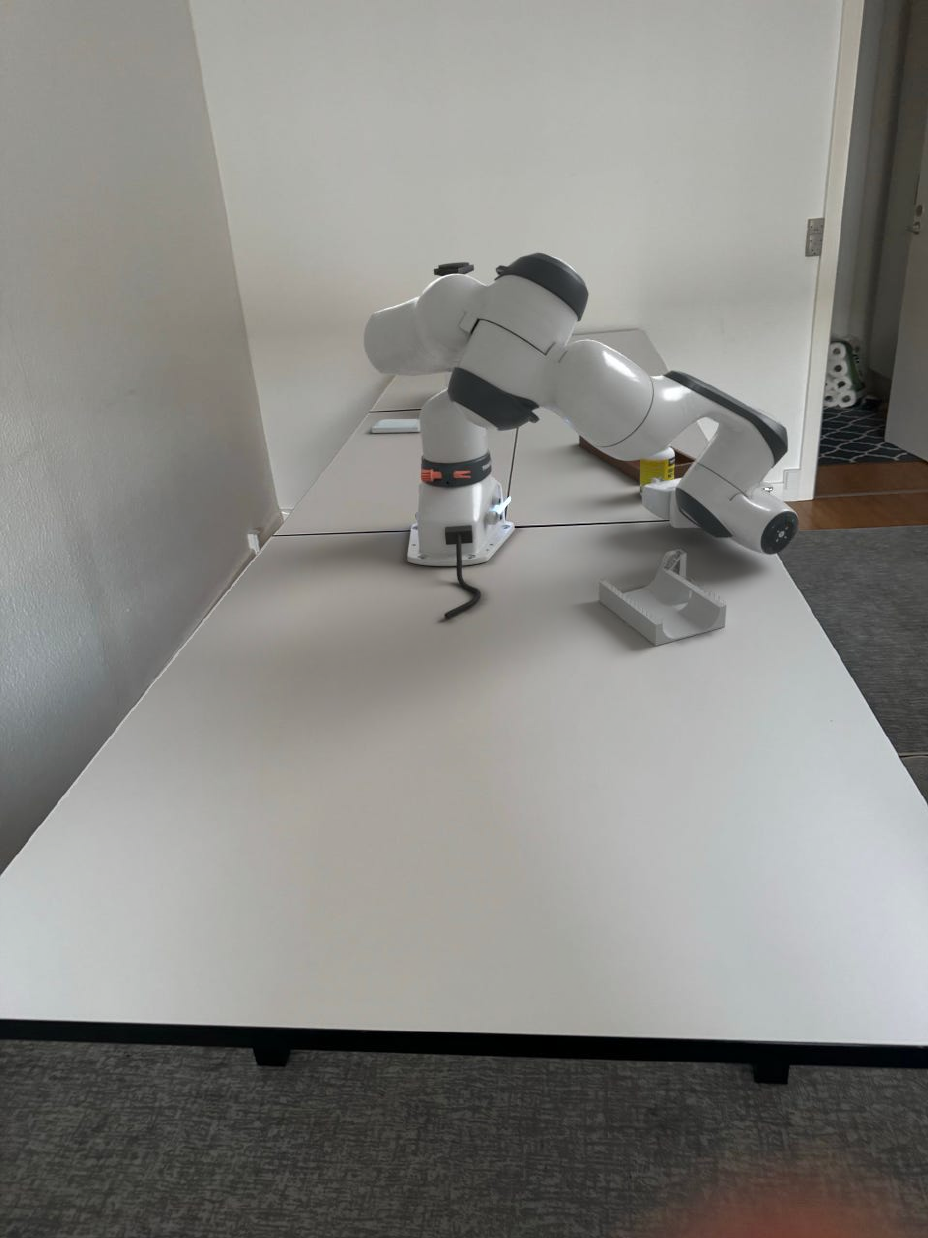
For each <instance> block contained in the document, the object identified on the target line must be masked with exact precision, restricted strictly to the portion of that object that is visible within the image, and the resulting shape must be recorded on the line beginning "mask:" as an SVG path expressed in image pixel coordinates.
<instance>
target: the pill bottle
mask: <svg viewBox="0 0 928 1238" xmlns="http://www.w3.org/2000/svg"><path fill="white" fill-rule="evenodd" d="M669 446H672V442H671V443H670V444H668V445H667V446H666V447H665V448H664V449H662V450H661V451H659V452H658V453H656V454H654V455H652V456H649V457H647V458H644V459H640V482H639V495H640V496H641V497H642V489H643V487H644V485H646V484H651V483H652V478H656V477H661V478H663V479H664V481H667V480H673V479H674V461H675V453H674V451H673V449H672V448H670V447H669Z"/></svg>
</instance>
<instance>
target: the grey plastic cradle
mask: <svg viewBox="0 0 928 1238" xmlns="http://www.w3.org/2000/svg"><path fill="white" fill-rule="evenodd" d="M687 555H688V554H687V553H686V552H685V551H684V550H682V549H674V550H670V551H667V552H666V553H665V554H664V556H663V558H662V560H661V563H660V565H659V568H658V570H657V572H656V575H655V577H654V579H653V580H652V582H650V583H649V584H648V585H647V586H644V587H641V588H638V589H633V590H629V591H626V592H622V591H621V590H619V589H618V588H617V587H615V586H614V585H612V584H611V583H610V582H608V581H607V580H606V579H605V577H602V578H601V580H599V581H598V601H599V602H600V603H601V604H602V605H604V606H605V607H606V608H608V609H609V610H610V611H611V612H612V613H614V614H615V615H616V616H617V617H618V618H620V619H621V620H622V621H624V622H625V623H626V624H627V625H628V626H630V628H632V629H633V630H635V631H636V632H637V633H639V634H640V635H641V636H643V637H644V638H645V639H646V640H647V641H649V642H650V643H651V645H653V646H655V647H657V646H661V645H665V644H668V643H673V642H676V641H679V640H682V639H687V638H691V637H693V636H698V635H701V634H705V633H708V632H711V631H712V632H713V631H715V630H718V629H722V628H725V627H726V617H727V604H725V599H724V598H723V597H721V596H719V595H718V594H716V593H714V592H713V591H711V590H710V589H708V588H707V587H705V586H704V585H701V583H699V582H698V581H695V580H694V579H692V578H691V577H689V576H688V575H687V558H688V557H687ZM671 557H672V558H671ZM670 558H671V560H670V561H669V559H670ZM668 561H669V563H668ZM689 580H690V581H689ZM698 584H699V586H700V587H699V586H697V585H698ZM690 590H691V591H690ZM690 592H691V595H690ZM712 593H713V594H712ZM721 601H722V602H721Z"/></svg>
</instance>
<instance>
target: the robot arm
mask: <svg viewBox="0 0 928 1238" xmlns="http://www.w3.org/2000/svg"><path fill="white" fill-rule="evenodd" d="M494 270H495V273H496V274H497V276H496V277H495V278H494V280H493V282H491V283H489V284H485V283H482V282H481V281H479V280H477V279H476V278H474V277H472V276H470V275H467V274H464V275H463V274H450V275H445V276H439V277H438V278H436V279H434V280H433V281H432V282H430V283H429V284H428V285H427V286H426V287H425V288H424V289H423V290H422V292H421V294H420V295H419V296H416V297H414V298H411V299H409V300H407V301H405V302H402V303H399V304H397V305H394V306H391V307H387V308H383V309H381V310H378V311H375V312H373V313H372V314H371V315H370V316H369V318H368V321H367V323H366V325H365V328H364V333H363V347H364V351H365V353H366V354H365V355H366V357H367V359H368V361H369V362H370V364H371V365H372V367H373V368H374V369H375V370H376V371H377V372H379V373H380V374H381V375H388V376H398V377H399V376H401V377H403V376H404V377H416V376H424V375H426V376H427V375H435V374H445V372H452V375H451V378H450V381H449V385H448V386H447V387H446V386H445V388H444V389H443V390H441V391H440V392H438V393H436V394H434V395H433V396H432V397H430V398H429V399H428V400H427V401H426V402H425V403H424V404H423V406H422V407H421V409H420V411H419V416H418V417H419V418H418V419H419V421H420V430H421V431H420V439H421V447H422V455H421V462H420V481H421V482H420V484H419V485H418V493H419V494H418V504H417V512H415V514H414V515H415V519H416V521H417V522H415V523H413V524H412V525H411V526H410V531H409V538H408V539H409V540H408V546H407V553H406V561H407V562H409V563H411V564H415V565H422V566H430V567H431V566H432V567H456V578H457V582H458V583H459V585H460V586H461V587H462V588H463V589H464V590H466V591H468V592H470V593H473V594H474V597H473V598H471V599H470V600H468V601H467V602H465V603H463V604H460V605H459V606H457V607H455V608H453V609H451V610H449V611H446V613H444V615H443V616H444V618H445V619H446V620H448V619H450V618H452V617H453V616H455V615H457V614H459V613H462V612H464V611H466V610H467V609H469V608H472V607H473V606H475V605H476V604H477V603H478V602H479V601H480V599H481V597H482V593H481V590H480V589H478V588H476V587H474V586H471V585H469V584H468V583H466V582H465V580H464V577H463V566H470V565H478V564H482V563H486V562H488V561H489V560H491V558H492V557H493V556H494V555H495V554H496V553H497V551H498V550H499V549H500V548H501V547H502V545H504V543H505V542H506V541H507V540H508V539H509V538H510V537H511V535H512V534H513V533H514V531H515V530H516V528H515V523H514V522H512V521H509V520H506V516H505V508H506V507H507V506H508V504H509V503H510V502H511V500H512V498H511V496H509V497H507V499H506V500H505V501H504V498H503V496H504V495H503V488H502V484H501V483H500V482H499V481H498V480H496V478H495V477H494V476H493V475H492V457H491V452H490V449H489V448H488V439H487V437H488V436H487V435H488V434H487V429H489V430H495V431H498V432H503V431H510V430H514V429H519V428H520V427H522V426H524V425H525V424H528V422H530V423H532V424H536V423H538V422H539V421H540V417H539V416H538V415H537V414H536V413H535V412H534V411H535V410H538V409H540V408H543V409H546V410H548V411H550V412H552V413H554V414H555V415H557V416H558V417H559V418H561V420H563V421H564V422H565V423H566V424H567V425H568V426H569V427H570V428H571V429H572V430H573V431H575V432H576V433H577V434H578V436H579V435H580V436H581V437H583V438H584V439H585V440H586V441H588V442H589V443H590V444H591V445H593V446H594V447H596V448H597V449H599V450H600V451H602V452H604V453H606V454H607V455H609V456H611V457H614V458H616V459H619V460H623V461H634V460H640V459H644V458H647V457H649V456H652V455H654V454H656V453H658V452H659V451H661V450H662V449H664V448H665V447H666V446H667V445H668V444H670V443H671V444H672V442H673V441H674V440H675V439H676V438H677V437H679V435H680V434H681V433H683V432H684V431H685V430H686V429H687V428H689V427H691V426H692V425H693V424H694V423H696V422H697V421H699V420H702V419H704V418H707V419H709V420H711V421H713V422H715V423H716V424H718V426H717V429H716V431H715V433H714V434H713V436H712V437H711V439H709V441H708V443H707V444H706V445H705V446H704V448H703V450H702V451H701V452H700V453H699V455H698V457H697V458H695V459H696V460H695V462H694V463H693V464H692V465H691V467H690V468H689V469H688V471H687V472H686V473H685V475H684V476H683V477H682V478H677V479H673V480H667V481H664V479H663V478H661V477H656V478H652V483H651V484H646V485H644V487H643V489H642V496H641V504H642V506H643V508H644V509H646V510H647V511H648V512H650V513H651V514H653V515H654V516H656V517H658V518H660V519H662V520H666V521H669V522H670V523H669V524H670V526H671V527H672V528H675V529H703V530H704V531H706V532H707V533H708V534H709V535H711V536H713V537H714V538H717V539H718V538H719V539H728V538H729V539H730V540H731V541H733V542H734V543H736V544H738V545H739V546H742V547H743V548H746V549H748V550H750V551H753V552H755V553H758V554H761V555H765V556H772V555H776V554H778V553H780V552H782V551H783V550H784V549H786V548H787V547H788V545H789V544H790V543H791V542H792V540H793V539H794V537H795V536H796V535H797V532H798V529H799V523H800V521H799V520H800V519H799V516H798V514H797V512H796V511H795V510H794V509H793V508H792V507H790V505H788V504H787V503H786V502H784V500H782V499H780V498H778V496H775V495H774V494H772V493H771V492H772V491H773V490H774V486H773V484H770V483H769V482H766V481H764V479H765V478H766V477H767V475H768V474H769V473H770V471H771V470H772V469H774V468H775V466H776V465H777V464H778V463H779V462H780V461H781V460H782V458H784V456H785V455H786V454H787V453H788V452H789V437H788V430H787V428H786V426H784V425H783V423H782V422H781V421H780V420H779V419H778V418H777V417H775V416H774V415H772V414H771V413H769V412H768V411H765V410H763V409H760V408H757V407H753V406H750V405H747V404H746V403H745V402H743V401H740V400H739V399H737V398H735V397H734V396H732V395H731V394H728V393H727V392H725V391H723V390H721V389H719V388H717V387H716V386H714V385H712V384H710V383H708V382H705V381H703V380H701V379H699V378H697V377H695V376H693V375H691V374H688V373H687V372H683V371H680V370H673V369H672V370H669V371H667V372H665V373H663V374H662V375H657V376H652V375H649V374H648V373H647V372H646V371H644V370H643V369H642V368H641V367H640V366H639V365H638V364H636V363H635V362H633V361H632V360H631V359H629V358H628V357H627V356H625V355H624V354H622V353H621V352H619V351H617V350H615V349H614V348H612V347H610V346H608V345H606V344H604V343H602V342H599V341H598V340H595V339H594V340H592V339H581V340H577V341H574V342H571V343H569V341H570V338H571V336H572V335H573V332H574V330H575V327H576V325H577V323H578V322H581V321H582V318H583V315H584V313H585V310H586V307H587V305H588V301H589V295H590V294H589V290H588V288H587V284H586V282H585V280H584V279H583V278H582V277H581V276H580V274H578V272H577V271H576V270H575V269H574V268H573V267H572V266H571V265H570V264H568V262H566V261H564V260H562V259H560V258H558V257H556V256H553V255H549V254H546V253H543V252H534V253H529V254H526V255H523V256H520V257H518V258H517V259H515V260H513V261H512V262H511V263H510V264H508V265H502V264H500V265H498V266H497V267H496V268H495V269H494ZM568 343H569V344H568Z"/></svg>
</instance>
